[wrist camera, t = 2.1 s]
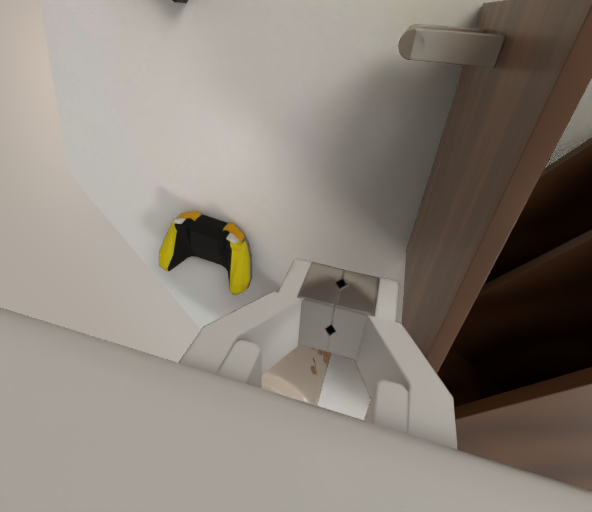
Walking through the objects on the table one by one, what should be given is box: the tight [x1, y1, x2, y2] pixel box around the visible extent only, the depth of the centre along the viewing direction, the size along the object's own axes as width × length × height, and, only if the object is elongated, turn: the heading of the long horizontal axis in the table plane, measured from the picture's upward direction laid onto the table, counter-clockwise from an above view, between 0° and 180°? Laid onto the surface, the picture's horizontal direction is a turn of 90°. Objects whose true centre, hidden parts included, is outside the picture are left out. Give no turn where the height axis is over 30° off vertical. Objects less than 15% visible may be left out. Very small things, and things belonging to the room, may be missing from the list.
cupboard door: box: [399, 0, 592, 374], centre depth 27 cm, size 7×26×24 cm, turn 177°
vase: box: [262, 345, 331, 406], centre depth 53 cm, size 15×15×17 cm
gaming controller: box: [159, 211, 252, 295], centre depth 51 cm, size 15×6×10 cm
